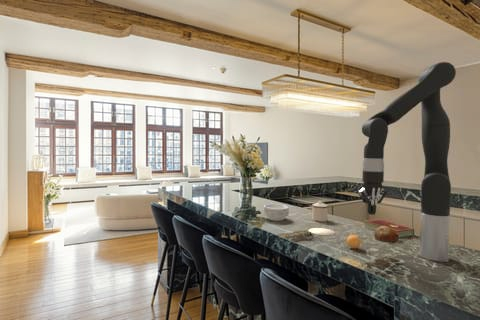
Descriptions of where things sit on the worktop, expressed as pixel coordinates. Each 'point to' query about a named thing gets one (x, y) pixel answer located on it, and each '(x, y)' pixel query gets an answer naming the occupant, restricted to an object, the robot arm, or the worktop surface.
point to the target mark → (321, 231)
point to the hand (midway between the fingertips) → (371, 214)
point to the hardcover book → (399, 229)
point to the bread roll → (386, 234)
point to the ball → (353, 241)
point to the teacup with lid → (319, 212)
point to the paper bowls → (276, 211)
